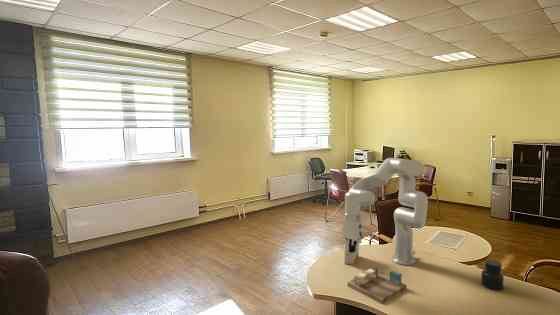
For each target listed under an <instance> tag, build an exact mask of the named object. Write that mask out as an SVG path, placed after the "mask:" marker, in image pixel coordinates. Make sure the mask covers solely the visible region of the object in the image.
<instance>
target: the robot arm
mask: <svg viewBox="0 0 560 315" xmlns="http://www.w3.org/2000/svg"><path fill="white" fill-rule="evenodd" d="M423 171H424V164H423V163H422V162H421V161H419V160H414V159H406V158H398V157H388V158H385V159H384V161H382V163H381V164H380V165H379V166H378V167H377V169H376V170H374V172H373V173H371V174H370V175H369V174H368V175H366V176H365V177H363V178H361V179H359V180H357V181H356V182H355V184H353V185H352V187H350V189H349V191H347V192H346V193H345V194H344V218H343V222H342V237H343V238H344V240H345V239H346V240H347V242H348V244H349V252H351V253H353V252H355V250H356V244H357V243H358V244H362V240H363V239H364V227H363V221H362V216H361V207H368V206H371V205H373V204H374V203H375V201H376V196H375V193H373V192H372V191H370V190H369V189H374V188H378V187H383V186H385V185H386V184H388V182H389V181H390V180H391V178H392V177H393V176H394V175H397V176H398V177H397V178H398V179H399V186H398V187H399V188H398V197H397V198H398V204H400V205H402V206H406V207H402V206H401V207H397V208H396V209H395V210H394V212H393V220H394V225H395V226H394V227H395V228H394V230H395V233H394V234H395V235H394V237H395V239H394V255H392V257H391V260H392V261H393V263H395V264H398V265H403V266H412V265H415V263H416V258H414V257H413V256H414V255H416V251H415V250H413V248H414V245H413V244H414V242H413V241H414V240H413V238H414V232H413V228H414V229H423V228H424V227H425V224H426V220H427V216H428V215H427V213H428V206H429V199H428V195H427V194H426V193H425V192H423V191H418V190H416V185H417V184H416V179H415V178H416V177H419V176H420V175H422V173H423ZM408 207H409V208H408ZM413 208H414V209H413Z"/></svg>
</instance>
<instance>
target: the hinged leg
mask: <svg viewBox="0 0 560 315" xmlns="http://www.w3.org/2000/svg"><path fill="white" fill-rule="evenodd" d="M378 271H379V270H378V268H377V267H375V266H373V267H370V268H368V269H367V270H364V271H362V272H360V273H358V274H355V275H354V276H353V277H354V284H356V285H358V286H361V285H363V284H365V283H367V282H368V281H370V280H372V279H374V278H376V277H378V273H379V272H378Z"/></svg>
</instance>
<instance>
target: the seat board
mask: <svg viewBox="0 0 560 315" xmlns="http://www.w3.org/2000/svg"><path fill="white" fill-rule="evenodd" d="M347 287H349V288H350V289H353V290H354V291H356V292H358V293H360V294H362V295H364V296H366V297H368V298H370V299H372V300H374V301H376V302H378V303H379V304H381V305H382V304H383V305H384V303H386V302H388V301H389V300H391V299H392V298H394V297H396V296H398V295H399V294H400V293H402V292H404V291H405V290H407V284H406V283H403V282H402V273H401V272H399V271H396V270H394V269H392V270H389V276H387V275H384V274H382V273H380V272H378V277H376V278H374V279H372V280H370V281H368V282H367V283H365V284H363V285H361V286H358V285H356V284H354V279H351V280H349V281H347Z"/></svg>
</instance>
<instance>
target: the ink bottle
mask: <svg viewBox="0 0 560 315" xmlns="http://www.w3.org/2000/svg"><path fill="white" fill-rule="evenodd" d="M502 267H503V264H502V263H501V262H500V261H498V260H494V259H486V260H484V269H483V270H482V271H481V283H480V284H481V285H482V286H483V287H484V288H486V289H489V290H491V291H493V290H494V291H502V290H504V283H505V282H504V281H505V277H504V274H503V273H502V270H503V268H502Z"/></svg>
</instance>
